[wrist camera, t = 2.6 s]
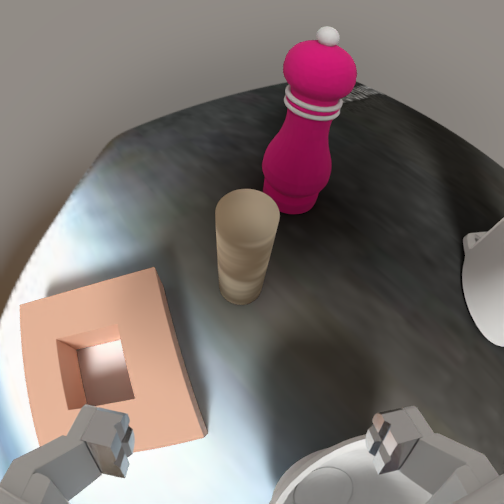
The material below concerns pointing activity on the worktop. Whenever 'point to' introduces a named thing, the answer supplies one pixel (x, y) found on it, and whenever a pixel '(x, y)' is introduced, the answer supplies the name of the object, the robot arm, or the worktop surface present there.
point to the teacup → (345, 479)
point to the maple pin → (244, 242)
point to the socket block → (135, 352)
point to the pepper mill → (307, 121)
